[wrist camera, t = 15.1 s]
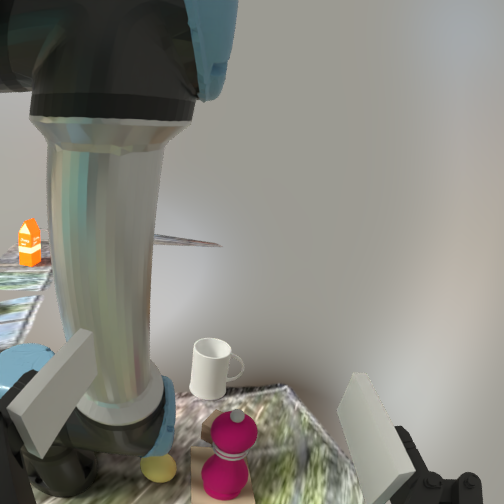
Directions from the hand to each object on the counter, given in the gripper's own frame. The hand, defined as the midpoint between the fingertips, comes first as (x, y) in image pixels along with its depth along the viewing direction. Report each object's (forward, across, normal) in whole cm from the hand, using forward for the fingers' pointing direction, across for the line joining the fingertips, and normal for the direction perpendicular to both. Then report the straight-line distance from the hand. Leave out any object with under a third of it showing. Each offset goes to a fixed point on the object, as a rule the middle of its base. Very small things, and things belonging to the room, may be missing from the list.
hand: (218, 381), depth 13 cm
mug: (+43, -1, -38) cm, 57 cm away
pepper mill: (+15, +3, -37) cm, 40 cm away
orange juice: (+92, -94, -38) cm, 137 cm away
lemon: (+16, -8, -38) cm, 42 cm away
